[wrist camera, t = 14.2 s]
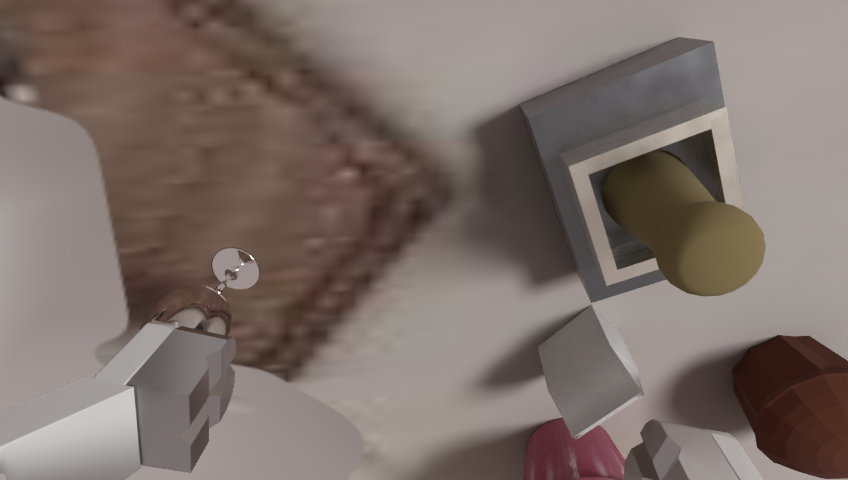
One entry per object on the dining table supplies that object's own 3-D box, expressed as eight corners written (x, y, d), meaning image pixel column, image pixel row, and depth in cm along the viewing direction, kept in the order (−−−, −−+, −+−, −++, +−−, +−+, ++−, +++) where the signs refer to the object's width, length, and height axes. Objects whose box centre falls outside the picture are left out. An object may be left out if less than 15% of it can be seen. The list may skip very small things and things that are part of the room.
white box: (537, 346, 47) (557, 427, 38) (591, 304, 45) (626, 379, 36) (562, 367, 48) (588, 450, 39) (617, 327, 45) (657, 405, 36)
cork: (630, 136, 33) (706, 192, 23) (707, 166, 33) (815, 234, 23) (586, 212, 35) (639, 292, 25) (659, 239, 36) (738, 328, 26)
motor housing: (518, 104, 37) (534, 127, 30) (679, 37, 34) (739, 45, 27) (576, 271, 43) (601, 325, 36) (717, 225, 40) (774, 273, 33)
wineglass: (199, 281, 46) (121, 366, 35) (212, 231, 43) (132, 306, 33) (257, 303, 46) (198, 392, 36) (273, 255, 44) (215, 336, 33)
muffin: (694, 395, 49) (748, 483, 40) (760, 309, 44) (839, 387, 35) (797, 425, 50) (874, 518, 41) (873, 344, 45) (978, 429, 36)
